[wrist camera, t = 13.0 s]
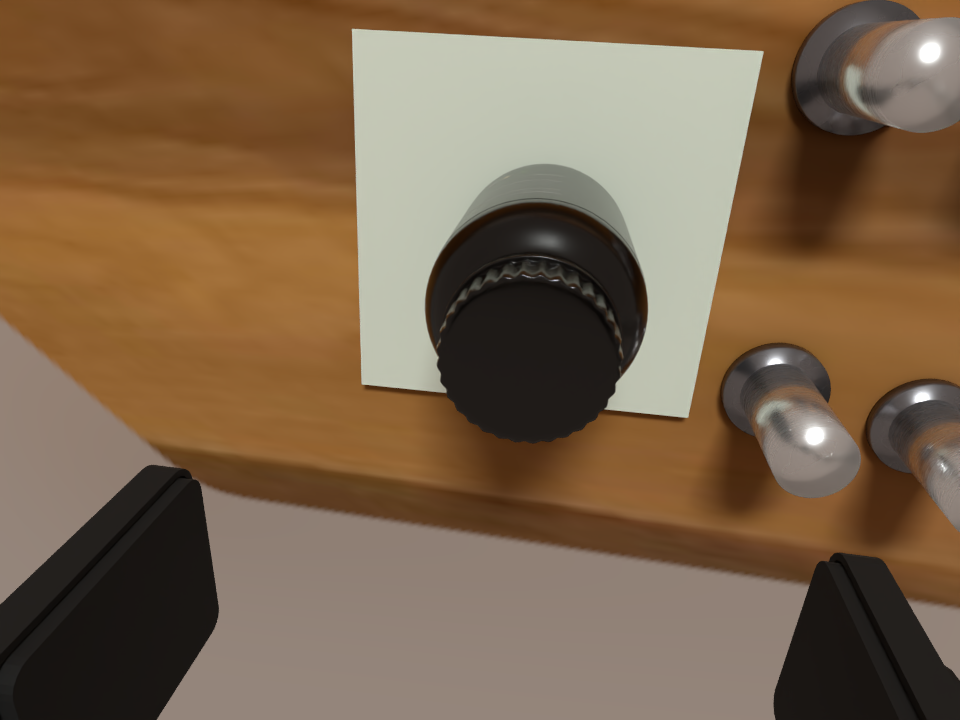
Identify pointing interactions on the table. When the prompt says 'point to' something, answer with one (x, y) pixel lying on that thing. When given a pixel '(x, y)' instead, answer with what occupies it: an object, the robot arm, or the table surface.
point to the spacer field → (792, 369)
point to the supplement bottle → (536, 304)
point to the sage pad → (545, 140)
